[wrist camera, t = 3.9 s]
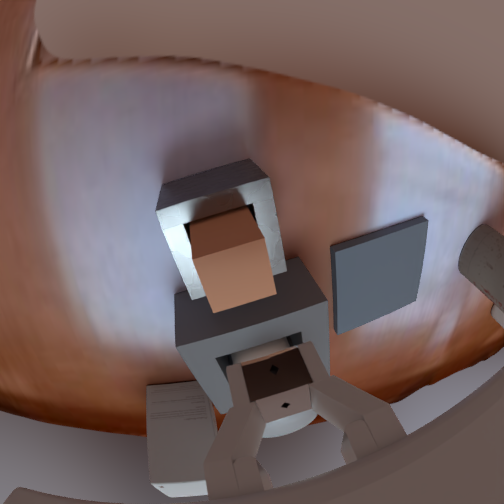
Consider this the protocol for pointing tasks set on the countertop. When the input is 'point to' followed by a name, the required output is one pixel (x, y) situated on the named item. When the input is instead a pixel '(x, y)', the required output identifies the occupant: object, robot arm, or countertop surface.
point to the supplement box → (179, 437)
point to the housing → (250, 328)
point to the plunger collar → (215, 201)
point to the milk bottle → (498, 315)
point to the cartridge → (286, 423)
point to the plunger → (231, 258)
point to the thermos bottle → (485, 263)
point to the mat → (377, 273)
